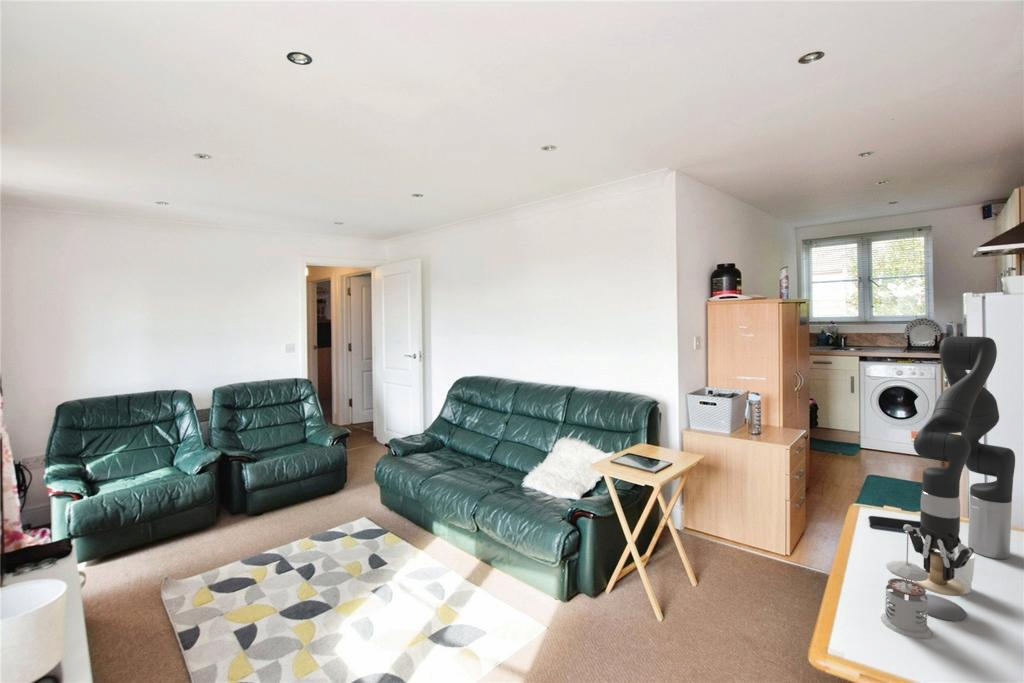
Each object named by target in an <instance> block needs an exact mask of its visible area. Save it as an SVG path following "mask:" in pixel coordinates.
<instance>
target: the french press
mask: <svg viewBox="0 0 1024 683" xmlns="http://www.w3.org/2000/svg"><path fill="white" fill-rule="evenodd" d="M902 529H903V530H905V531H906V536H907V537H906V560H893V561H889V562H887V563H886V564H885V566H886V569H887V570H888V571H889V572H890V573H891V574H893V575H895V576H897V578H890V579H889V580H888V581H887V583H888V584H887V585H886V587H885V610H884V611H885V612H884V613H882V614H881V616H880V617H879V618H880V621H881V622H882V624H883V625H884V626H885V627H886V628H888V629H890V630H891V631H893V632H895V633H897V634H900V635H902V636H905V637H909V638H914V639H927V638H930V637H931V636H932V635H933V632H932V629H931V628H930V627H929V626H928V621H927V620H928V615H927V613H926V612H927V608H926V606H927V604H928V598H927V596H926V595H925V594H927V593H926V592H927V591H926V589H924V588H923V587H922V586H920V585H918V584H917V583H915V582H914V581H924V580H927V579H928V577H929V574H928V573H927V572H926V571H925V569H924V568H921V566H918V565H917V564H915V563H912V562H909V560H908V559H909V531H913V526H912V525H910V524H907V523H906V524H905V523H904V525H903V527H902ZM898 577H899V578H898ZM890 590H892V591H890ZM905 595H907V596H908V600H907V599H905ZM921 598H924V599H926V601H923V600H921ZM927 607H928V606H927ZM924 609H925V610H926V611H925V612H924V611H923V610H924Z"/></svg>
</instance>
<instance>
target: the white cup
mask: <svg viewBox="0 0 1024 683" xmlns="http://www.w3.org/2000/svg"><path fill="white" fill-rule="evenodd" d="M954 550H955V560H956V559H957V557H958V555H959V553H958V547H956V548H955V549H954ZM935 552H940V551H939V550H937V549H936V550H935ZM975 559H976V556H975V554H974V553H973V554H972V555H971V557H970V558H969V560H968V561H967V563H966V564H965V566H964V567H961V568H958V569H956V568H955V573H954V579H956V580H958V581H959V582H961V583H962V584H963V585H964V587H965V593H964V594H963V595H969V594H970V593H971V592H972V583H973V579H974V570H975Z"/></svg>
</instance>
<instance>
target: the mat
mask: <svg viewBox="0 0 1024 683" xmlns="http://www.w3.org/2000/svg"><path fill="white" fill-rule="evenodd" d="M925 595H926V596H927V598H928V604H927V606H928V607H927V606H926V608H927V612H926V613H927V614H928V615H927V616H930V617H932V616H933V618H935V619H940V620H944V621H949V622H958V621H960V622H961V621H963V620H965V619H966V617H967V612H966V611H965V609H964V608H963V607H961V605H959V604H957V603H955V602H954V601H952V600H950V599H947V598H945V597H942V596H939V595H935V594H931V593H930V594H929V593H925ZM921 600H923V601H926V599H924V598H921ZM923 611H924V612H925V611H926V610H925V609H924V610H923Z"/></svg>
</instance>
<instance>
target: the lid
mask: <svg viewBox="0 0 1024 683" xmlns="http://www.w3.org/2000/svg"><path fill="white" fill-rule="evenodd" d="M943 566H945V565H944V561H943V557H941V553H940V552H936V551H935V552H930V573H928V574H929V577H928V579H927V580H924V581H913V582H914V583H917V584H918V585H920V586H922V587H923V588H924V589H925V591H926V590H927V591H929V592H931V593H933V594H934V593H935V594H938V595H941V596H948V597H959V596H963V595H965V594H964V593H965V587H964V585H963V584H962V583H961V582H959V581H958V580H956V579H952V580H950V581H945V580H943Z"/></svg>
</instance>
